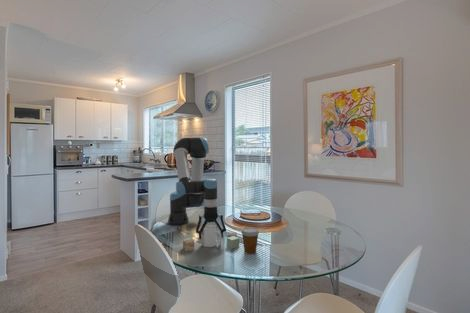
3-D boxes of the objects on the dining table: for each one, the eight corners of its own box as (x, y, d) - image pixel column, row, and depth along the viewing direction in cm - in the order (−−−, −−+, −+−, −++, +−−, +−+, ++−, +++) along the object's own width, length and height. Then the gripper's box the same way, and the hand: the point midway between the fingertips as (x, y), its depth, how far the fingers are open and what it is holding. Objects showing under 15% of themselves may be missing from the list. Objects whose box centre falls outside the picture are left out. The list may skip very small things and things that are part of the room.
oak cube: (183, 248, 152) (183, 239, 152) (191, 247, 154) (191, 238, 154) (185, 251, 148) (185, 242, 147) (194, 250, 150) (194, 241, 150)
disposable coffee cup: (253, 256, 140) (253, 233, 140) (238, 252, 145) (238, 230, 145) (262, 250, 149) (261, 228, 148) (246, 246, 154) (246, 226, 153)
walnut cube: (228, 240, 164) (228, 232, 164) (236, 240, 164) (236, 232, 164) (228, 243, 159) (228, 235, 159) (236, 243, 159) (236, 235, 159)
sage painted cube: (226, 246, 155) (226, 237, 154) (233, 244, 158) (233, 235, 158) (232, 248, 151) (232, 240, 151) (239, 246, 154) (239, 238, 154)
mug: (217, 249, 150) (217, 230, 149) (199, 246, 155) (199, 227, 154) (224, 244, 158) (224, 226, 157) (207, 241, 163) (207, 223, 162)
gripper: (191, 208, 149) (191, 247, 150) (231, 206, 153) (231, 244, 154) (190, 205, 157) (191, 243, 158) (229, 203, 161) (229, 240, 162)
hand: (211, 244), depth 156 cm, fingers closed on mug, 10 cm apart
